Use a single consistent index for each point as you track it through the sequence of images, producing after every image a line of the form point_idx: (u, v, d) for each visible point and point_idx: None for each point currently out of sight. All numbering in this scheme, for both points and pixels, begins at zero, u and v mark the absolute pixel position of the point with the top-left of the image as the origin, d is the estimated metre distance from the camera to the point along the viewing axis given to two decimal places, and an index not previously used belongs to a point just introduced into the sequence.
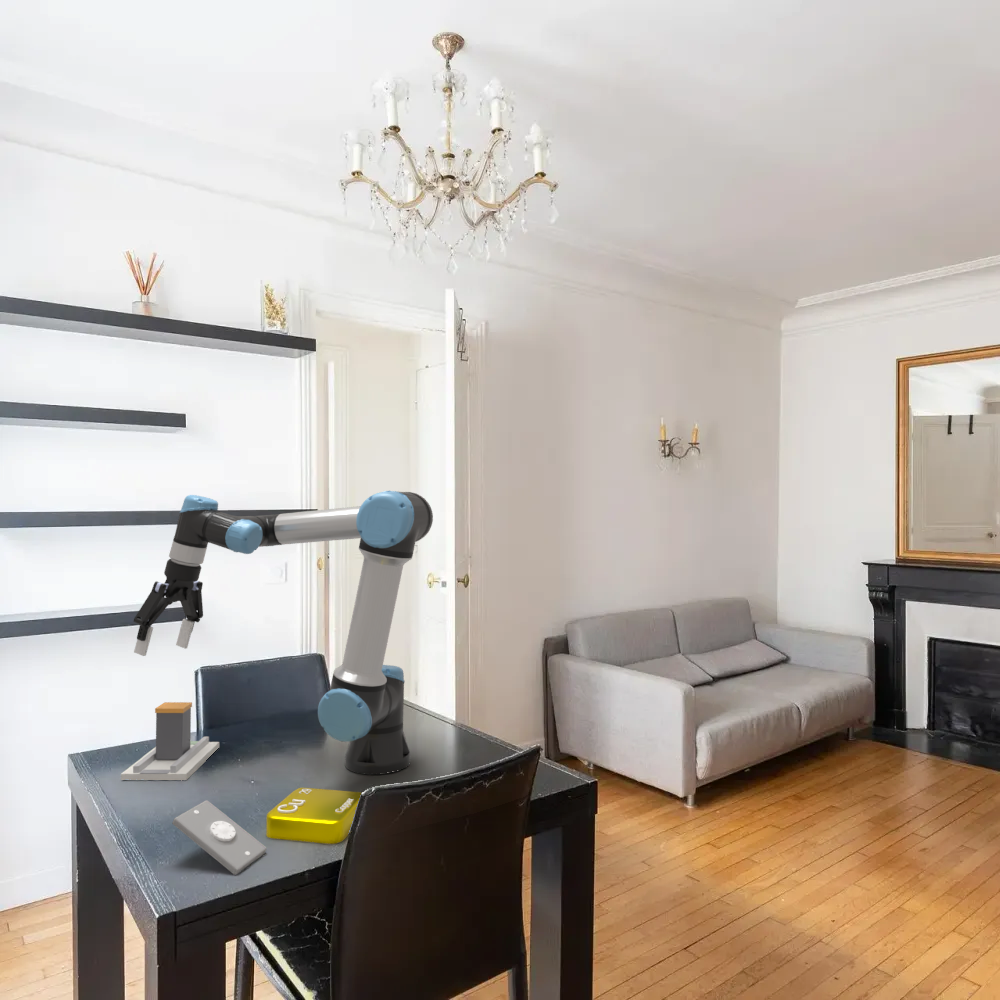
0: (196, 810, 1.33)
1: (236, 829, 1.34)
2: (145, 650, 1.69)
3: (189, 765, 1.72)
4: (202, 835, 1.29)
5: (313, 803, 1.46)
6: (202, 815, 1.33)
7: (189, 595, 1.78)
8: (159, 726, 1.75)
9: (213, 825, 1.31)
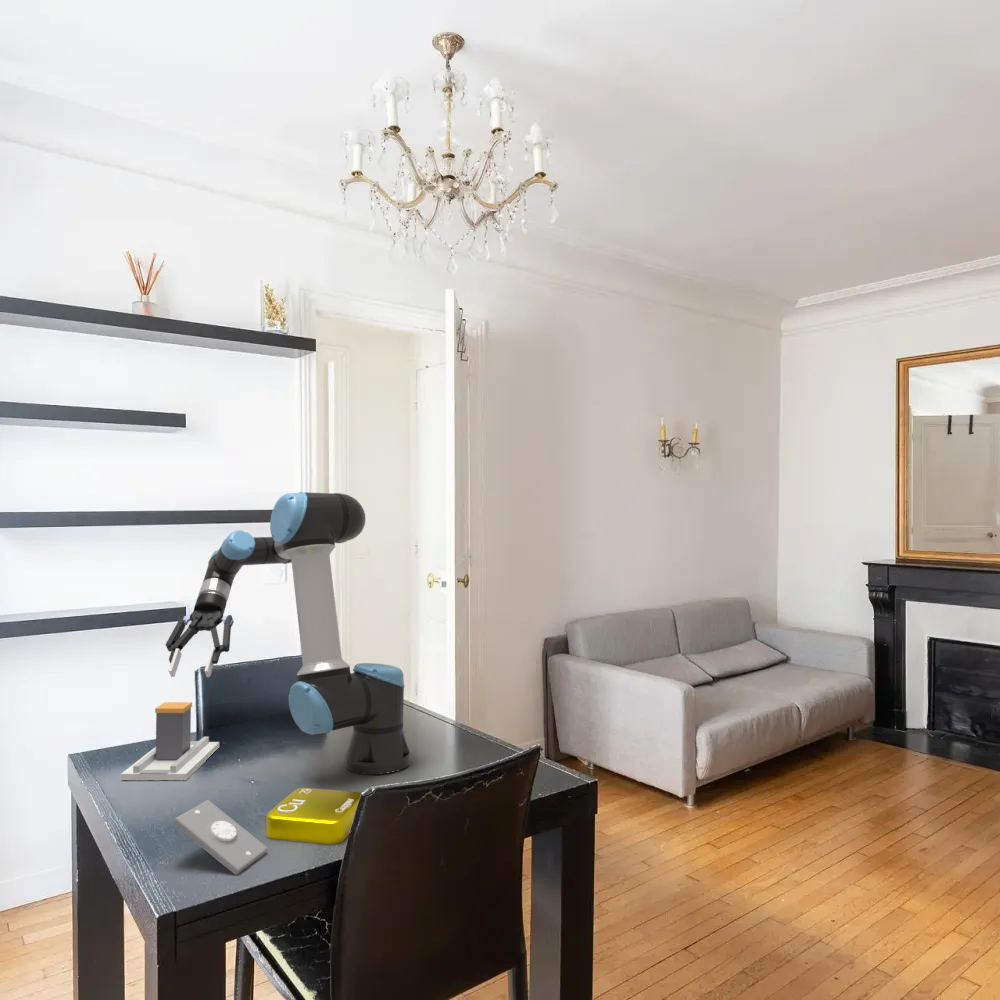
0: (197, 810, 1.33)
1: (237, 829, 1.34)
2: (170, 666, 1.87)
3: (189, 765, 1.72)
4: (203, 835, 1.29)
5: (313, 803, 1.46)
6: (203, 814, 1.33)
7: (210, 620, 1.97)
8: (159, 726, 1.75)
9: (214, 825, 1.31)
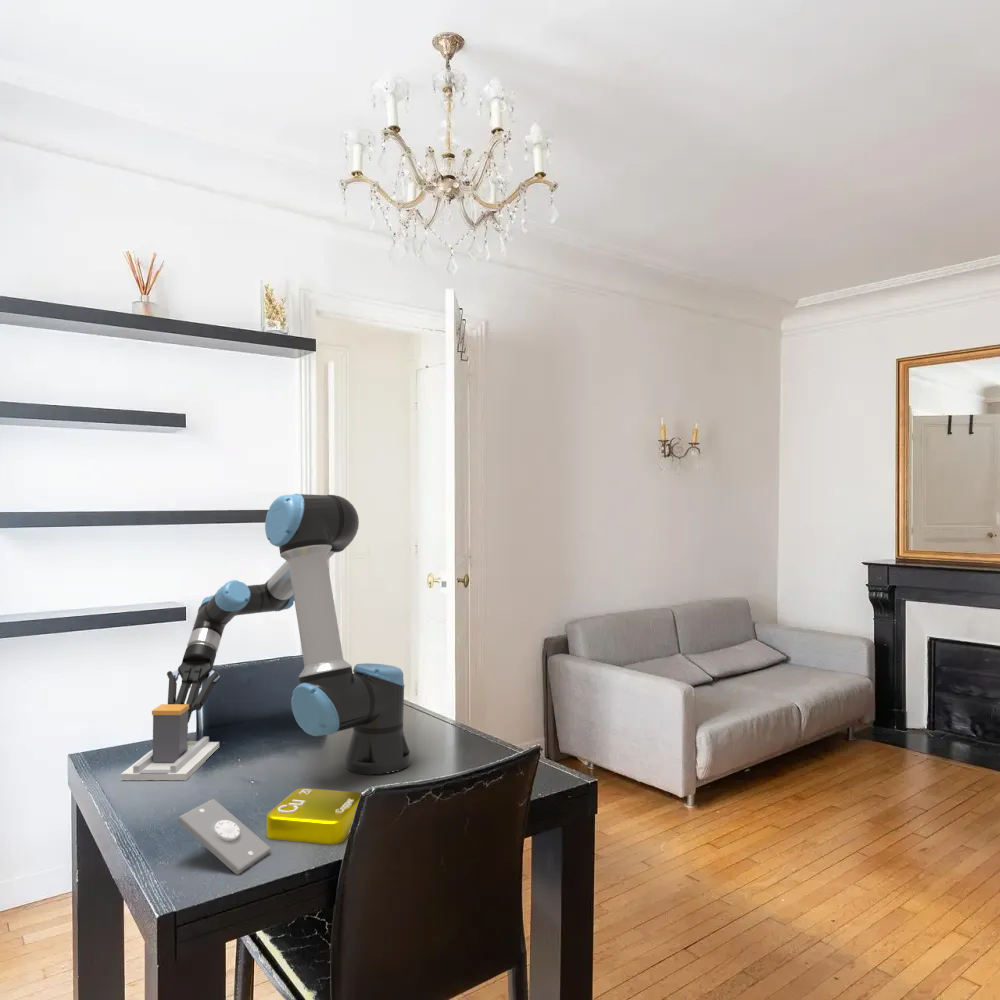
0: (201, 809, 1.34)
1: (241, 828, 1.34)
2: None
3: (189, 765, 1.72)
4: (206, 834, 1.29)
5: (313, 804, 1.45)
6: (208, 813, 1.34)
7: (196, 674, 1.89)
8: (156, 728, 1.73)
9: (217, 824, 1.31)
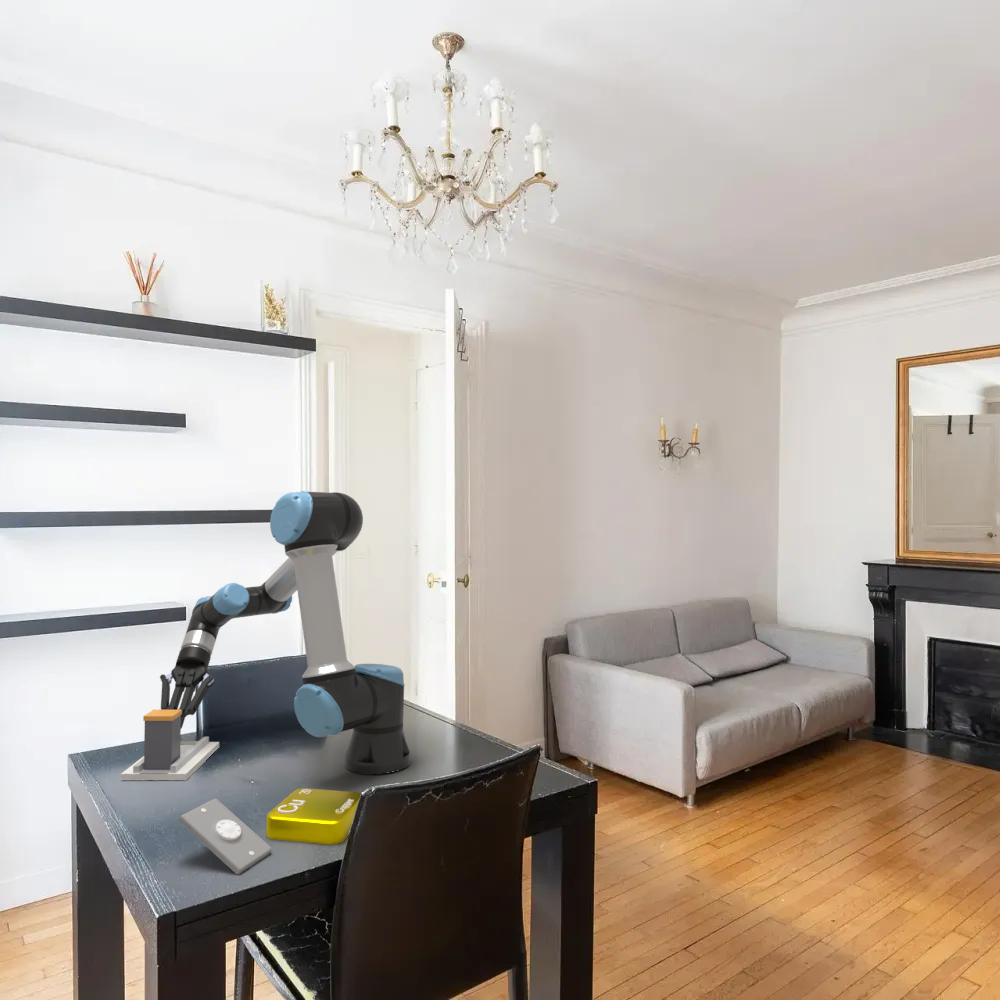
0: (203, 808, 1.34)
1: (242, 828, 1.34)
2: None
3: (189, 765, 1.72)
4: (207, 833, 1.29)
5: (313, 804, 1.45)
6: (209, 813, 1.34)
7: (190, 678, 1.85)
8: (147, 734, 1.69)
9: (219, 824, 1.32)
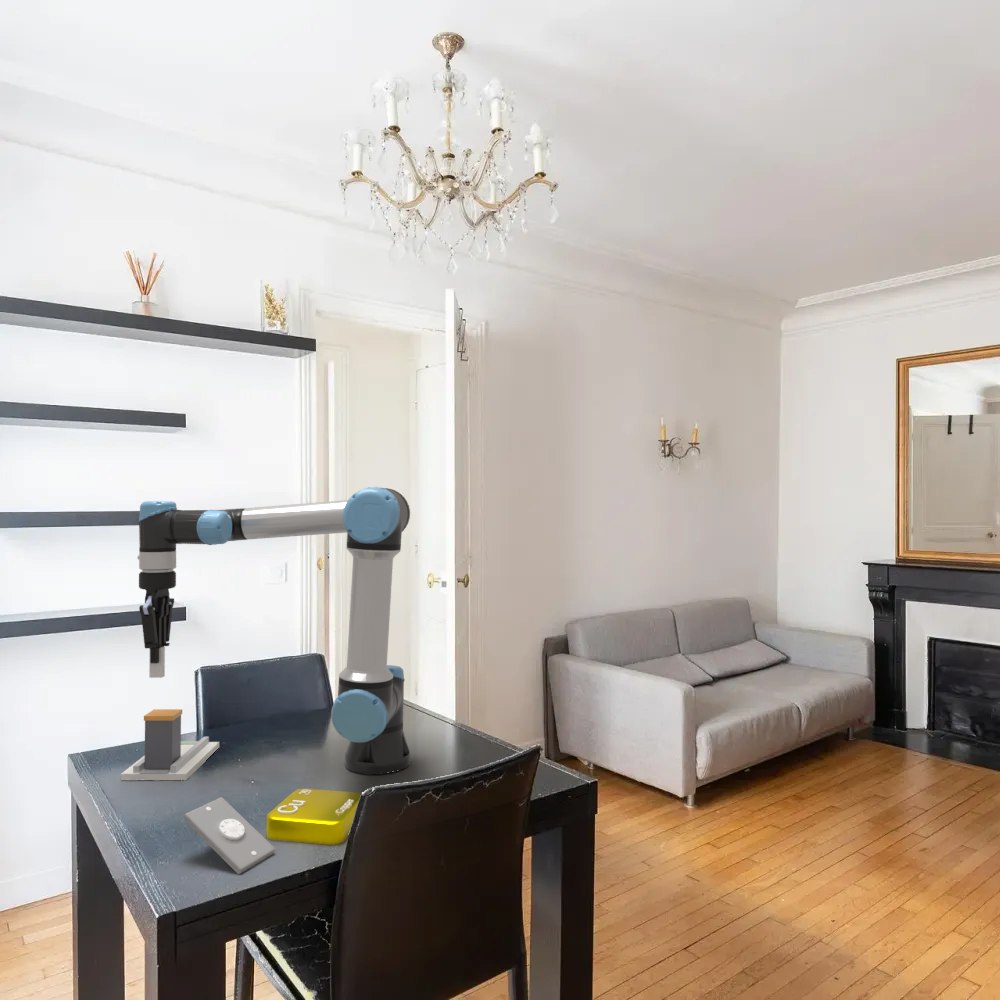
0: (208, 807, 1.35)
1: (246, 828, 1.34)
2: (161, 672, 1.69)
3: (189, 765, 1.72)
4: (210, 832, 1.30)
5: (313, 804, 1.45)
6: (214, 812, 1.34)
7: (167, 606, 1.71)
8: (148, 734, 1.69)
9: (222, 823, 1.32)
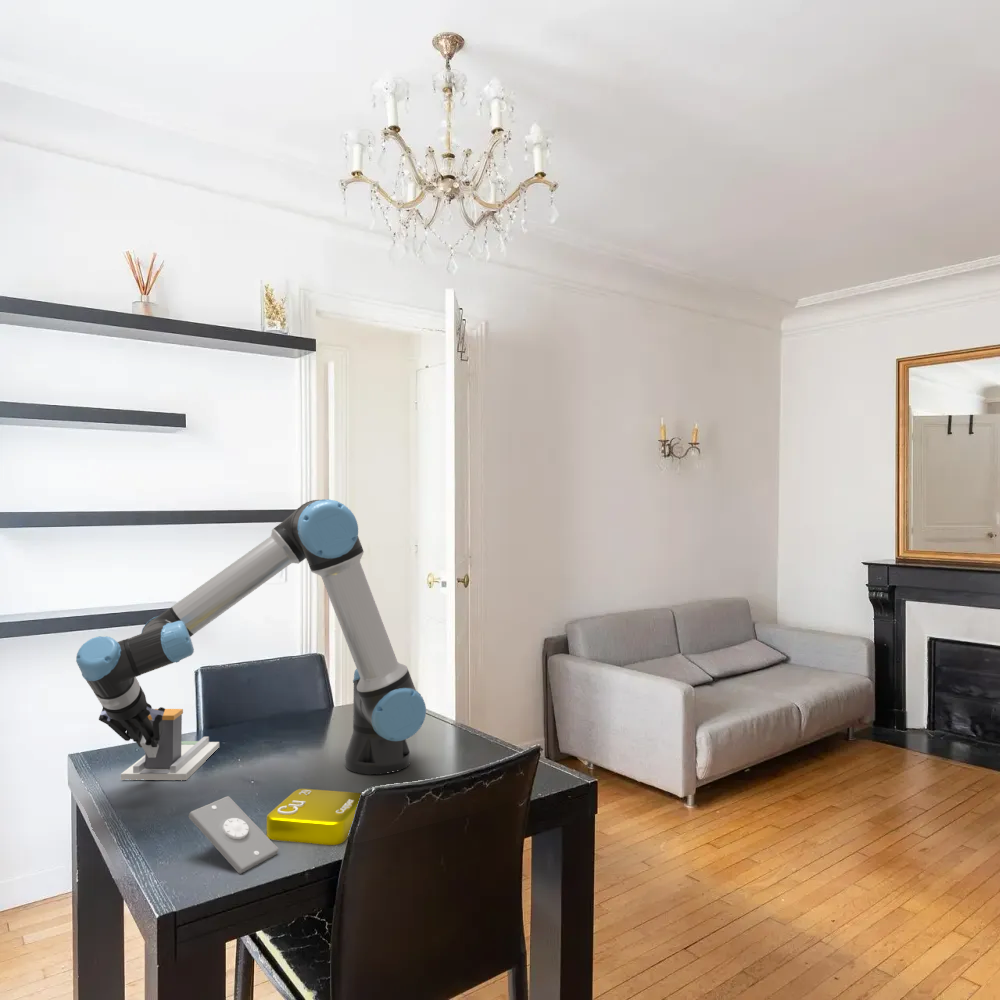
0: (214, 806, 1.35)
1: (251, 827, 1.35)
2: None
3: (189, 765, 1.72)
4: (214, 831, 1.30)
5: (313, 804, 1.45)
6: (220, 810, 1.35)
7: None
8: None
9: (227, 822, 1.32)
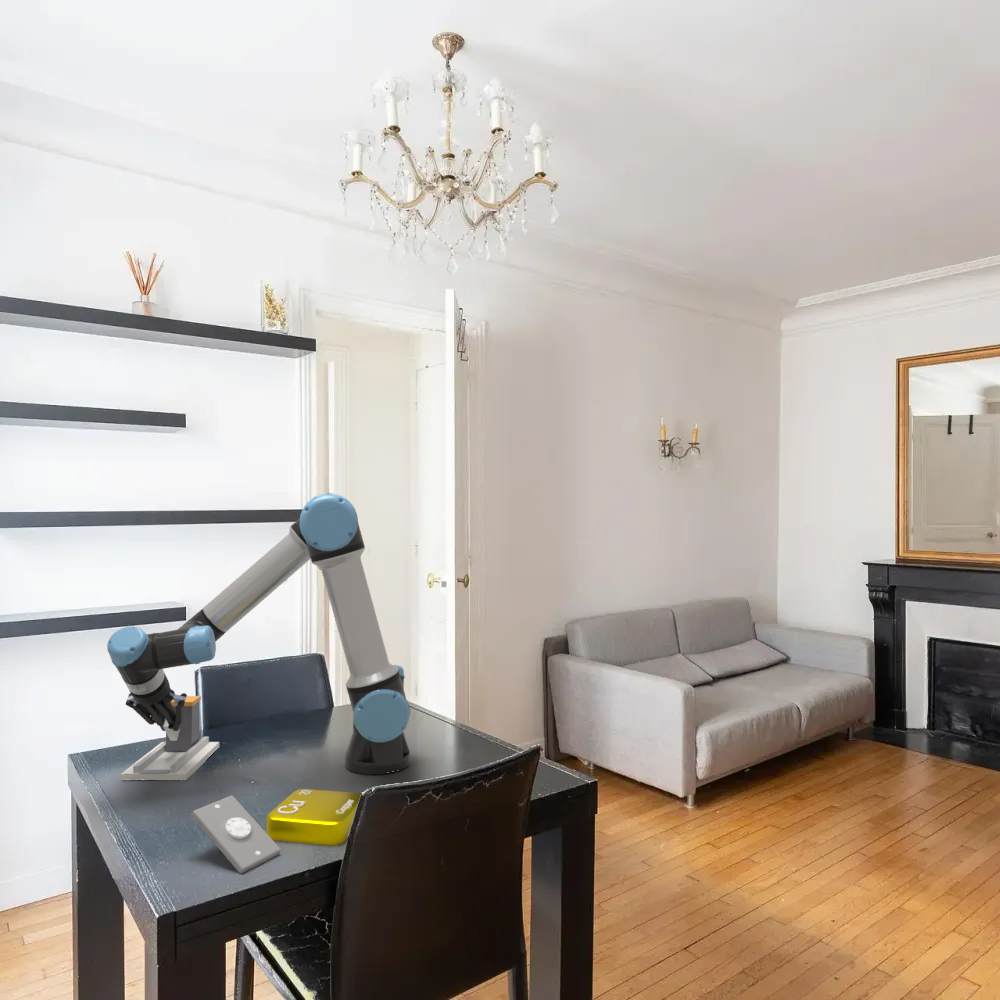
0: (217, 805, 1.36)
1: (253, 827, 1.35)
2: None
3: (189, 765, 1.72)
4: (216, 830, 1.31)
5: (313, 805, 1.45)
6: (223, 810, 1.35)
7: None
8: None
9: (229, 821, 1.33)
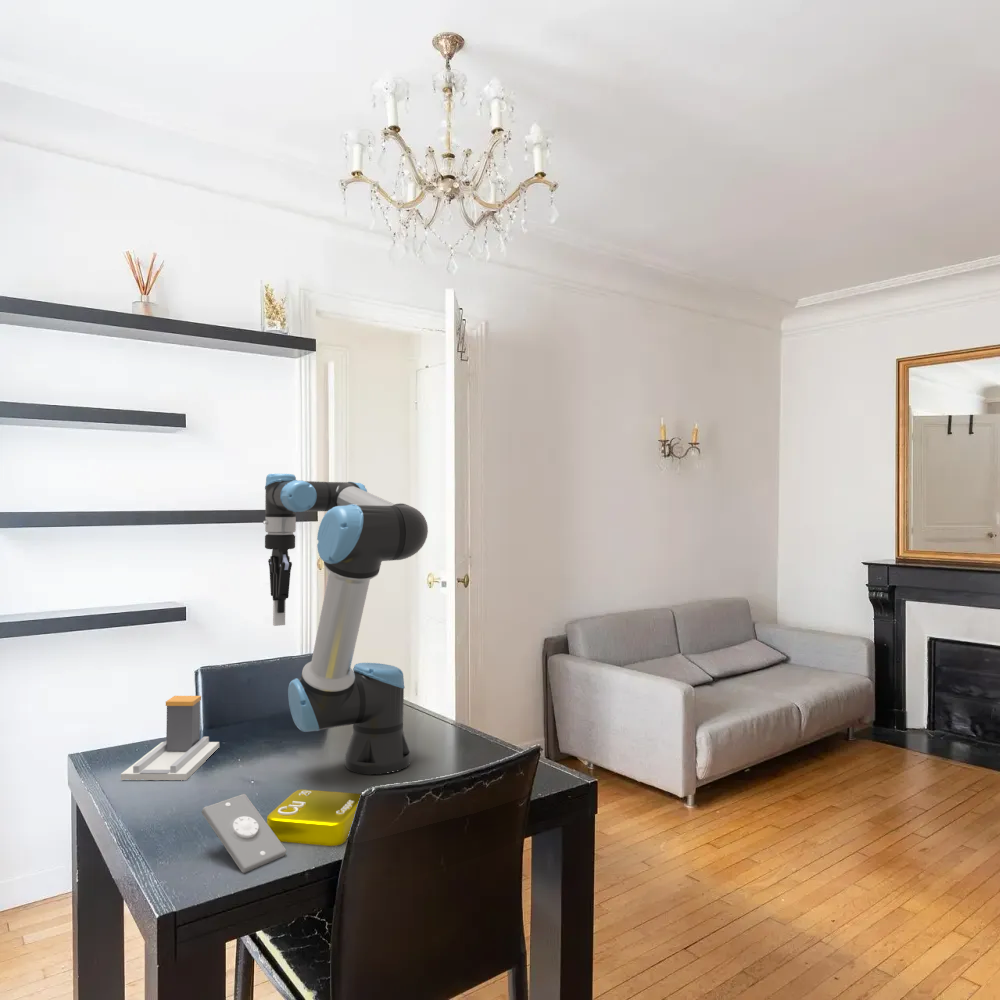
0: (228, 803, 1.37)
1: (262, 827, 1.35)
2: None
3: (189, 765, 1.72)
4: (223, 828, 1.31)
5: (313, 805, 1.45)
6: (233, 808, 1.36)
7: None
8: (169, 718, 1.81)
9: (237, 820, 1.33)
